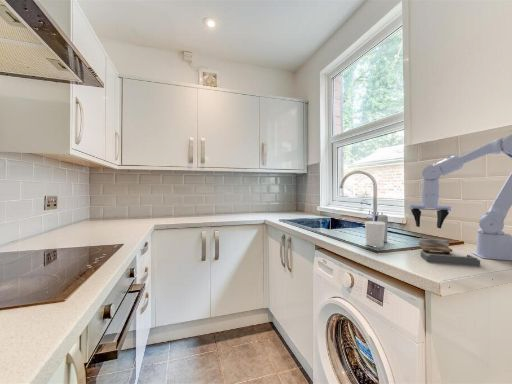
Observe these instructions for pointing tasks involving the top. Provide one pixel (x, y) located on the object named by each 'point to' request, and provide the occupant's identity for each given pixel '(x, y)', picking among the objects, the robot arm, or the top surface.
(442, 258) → the dock
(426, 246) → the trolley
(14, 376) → the top surface
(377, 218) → the energy drink
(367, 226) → the white cup
